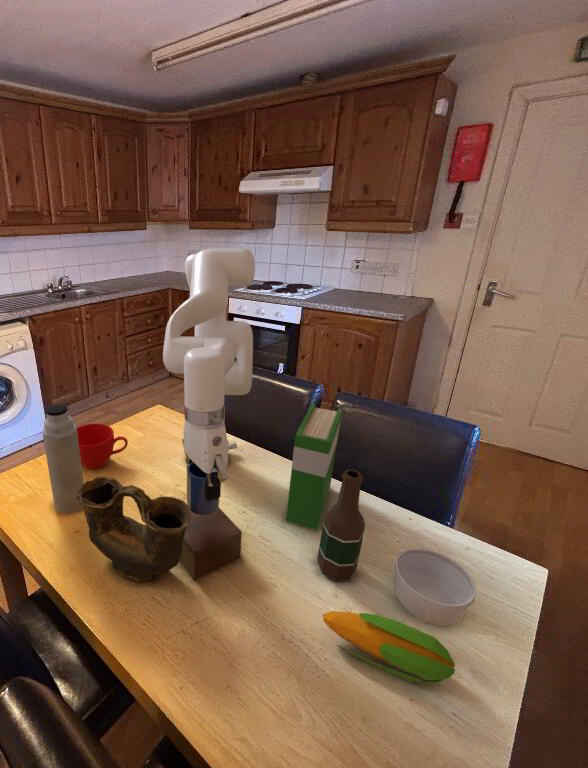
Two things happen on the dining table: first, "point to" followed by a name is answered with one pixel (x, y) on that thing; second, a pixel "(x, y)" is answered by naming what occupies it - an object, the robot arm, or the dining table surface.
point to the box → (211, 557)
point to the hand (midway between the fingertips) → (203, 488)
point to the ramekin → (432, 586)
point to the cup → (199, 491)
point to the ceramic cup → (97, 444)
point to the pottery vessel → (134, 528)
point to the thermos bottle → (63, 458)
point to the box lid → (209, 531)
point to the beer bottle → (342, 531)
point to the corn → (394, 645)
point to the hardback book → (312, 466)
